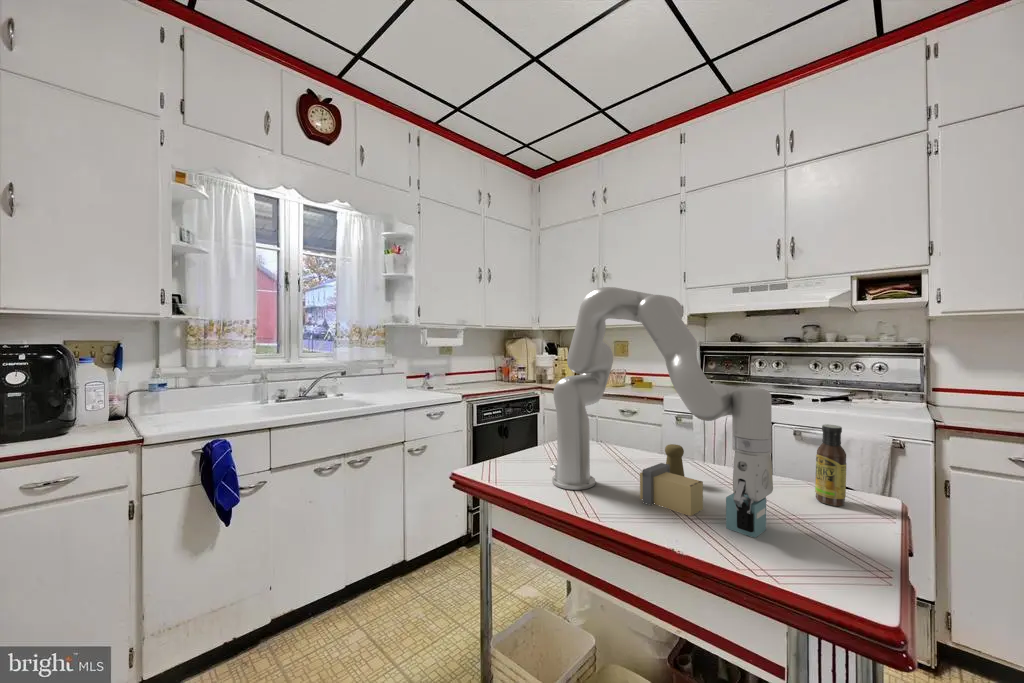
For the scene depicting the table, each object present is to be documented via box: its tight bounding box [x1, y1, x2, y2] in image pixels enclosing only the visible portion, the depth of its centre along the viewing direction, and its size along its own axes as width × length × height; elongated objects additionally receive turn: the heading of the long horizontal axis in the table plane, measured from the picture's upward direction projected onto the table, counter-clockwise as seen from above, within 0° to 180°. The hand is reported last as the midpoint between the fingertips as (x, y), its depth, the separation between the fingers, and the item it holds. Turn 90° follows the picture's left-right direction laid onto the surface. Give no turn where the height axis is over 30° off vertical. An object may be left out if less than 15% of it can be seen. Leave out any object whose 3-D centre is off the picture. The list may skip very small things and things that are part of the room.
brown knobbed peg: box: [664, 443, 686, 477], centre depth 124 cm, size 6×6×11 cm
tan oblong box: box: [639, 462, 704, 517], centre depth 108 cm, size 14×9×9 cm, turn 39°
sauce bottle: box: [814, 423, 847, 507], centre depth 108 cm, size 6×6×20 cm
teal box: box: [725, 493, 767, 539], centre depth 94 cm, size 6×6×7 cm
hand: (751, 524), depth 93 cm, fingers closed on teal box, 6 cm apart
